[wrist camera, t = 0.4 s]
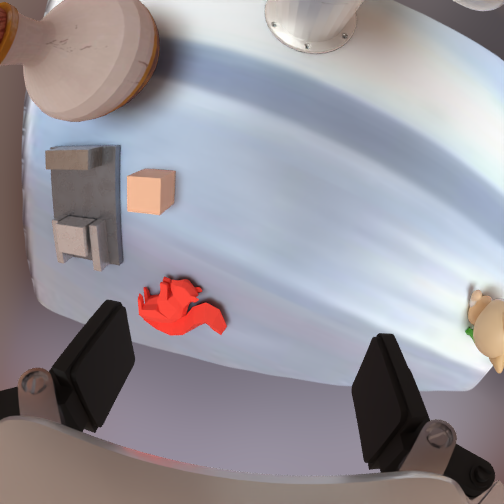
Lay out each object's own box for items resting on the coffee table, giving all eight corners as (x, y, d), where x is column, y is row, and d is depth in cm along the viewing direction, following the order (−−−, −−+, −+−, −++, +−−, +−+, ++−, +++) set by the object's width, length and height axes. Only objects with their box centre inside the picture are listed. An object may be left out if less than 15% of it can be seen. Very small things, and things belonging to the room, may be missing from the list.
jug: (65, 113, 39) (-88, 144, 12) (88, 16, 31) (-52, -19, 4) (166, 125, 39) (0, 154, 12) (195, 14, 32) (80, -94, 5)
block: (145, 168, 42) (127, 176, 37) (175, 170, 42) (160, 178, 37) (144, 199, 44) (127, 211, 39) (174, 203, 44) (159, 215, 39)
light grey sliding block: (68, 216, 45) (55, 223, 41) (95, 219, 44) (82, 227, 41) (71, 242, 47) (59, 251, 43) (97, 246, 47) (85, 256, 43)
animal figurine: (228, 331, 54) (224, 350, 49) (151, 319, 54) (141, 336, 50) (231, 277, 49) (227, 295, 44) (145, 266, 49) (134, 281, 45)
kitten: (486, 329, 49) (517, 374, 36) (452, 340, 51) (480, 390, 37) (500, 271, 44) (542, 312, 30) (464, 281, 45) (504, 328, 32)
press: (55, 146, 41) (35, 151, 36) (120, 145, 41) (101, 149, 36) (63, 250, 50) (47, 262, 45) (123, 261, 49) (108, 276, 44)
